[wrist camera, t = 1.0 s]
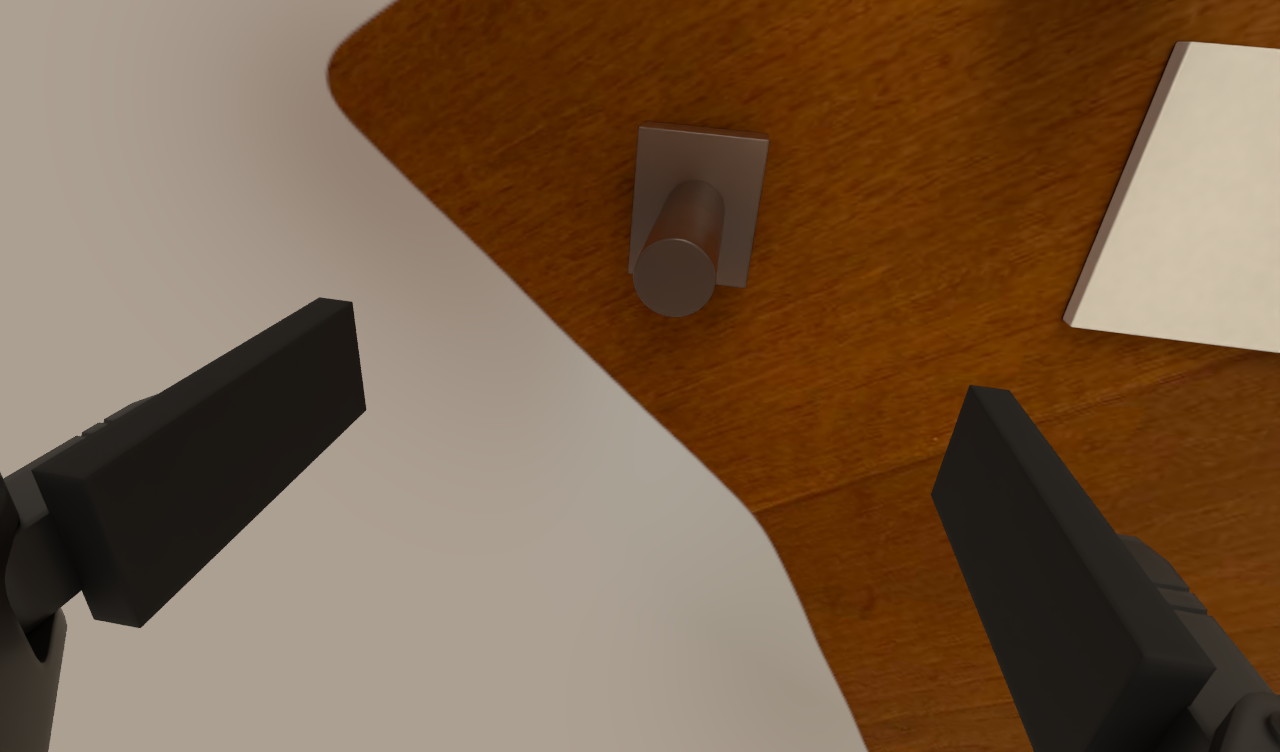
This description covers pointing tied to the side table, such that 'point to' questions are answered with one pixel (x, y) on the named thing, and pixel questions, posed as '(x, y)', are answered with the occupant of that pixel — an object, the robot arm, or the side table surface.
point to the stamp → (693, 212)
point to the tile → (1195, 209)
